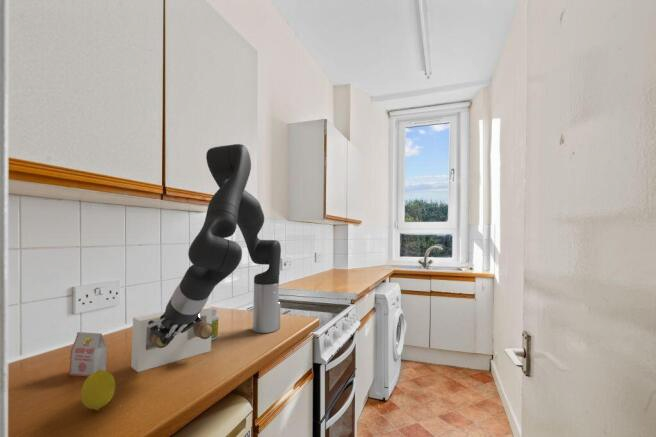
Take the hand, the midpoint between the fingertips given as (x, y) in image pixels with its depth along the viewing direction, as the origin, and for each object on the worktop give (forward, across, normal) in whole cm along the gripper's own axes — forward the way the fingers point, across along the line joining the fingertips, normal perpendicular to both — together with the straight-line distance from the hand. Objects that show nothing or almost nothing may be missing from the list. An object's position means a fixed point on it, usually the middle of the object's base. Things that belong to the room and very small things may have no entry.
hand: (164, 340), depth 82 cm
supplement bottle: (+16, -21, -5) cm, 27 cm away
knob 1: (+4, 0, -1) cm, 4 cm away
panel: (+10, -5, +1) cm, 12 cm away
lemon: (0, +16, +12) cm, 20 cm away
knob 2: (+3, -11, 0) cm, 11 cm away
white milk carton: (+15, +13, -4) cm, 20 cm away
